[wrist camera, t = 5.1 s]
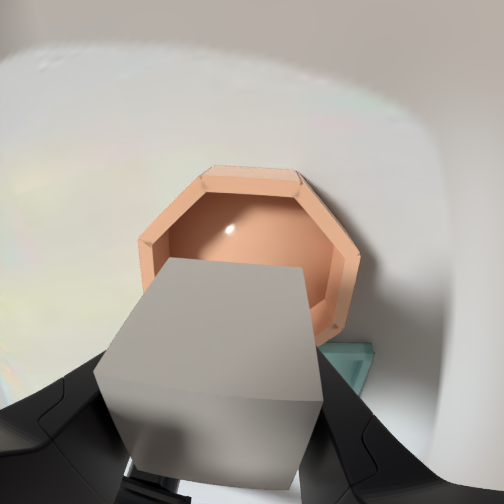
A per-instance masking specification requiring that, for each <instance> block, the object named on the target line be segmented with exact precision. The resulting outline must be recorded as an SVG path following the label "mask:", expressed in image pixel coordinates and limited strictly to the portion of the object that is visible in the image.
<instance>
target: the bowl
mask: <svg viewBox="0 0 504 504" xmlns="http://www.w3.org/2000/svg"><path fill="white" fill-rule="evenodd" d="M138 248H139V258H140V268H141V277H142V285H143V293H145V291H146V290H147V288H148V287H149V285H150V284H151V283H152V281H153V280H154V278H155V277H156V275H157V274H158V273H159V271H160V270H161V268H162V267H163V265H164V264H165V263H166V261H167V260H168V258H169V257H173V258H185V259H197V260H210V261H222V262H235V263H248V264H261V265H274V266H288V267H302V269H303V275H304V280H305V286H306V291H307V297H308V303H309V309H310V315H311V321H312V327H313V333H314V340H315V345H316V346H317V347H319V346H320V345H322V344H323V343H325V342H327V341H328V340H330V339H331V338H333V337H334V336H336V335H337V334H339V333H340V332H342V329H344V327H345V324H346V320H347V316H348V312H349V308H350V303H351V299H352V295H353V290H354V286H355V282H356V277H357V272H358V267H359V263H360V258H361V256H360V254H359V253H360V252H359V250H358V249H357V247H356V245H355V244H354V242H353V241H352V239H351V238H350V236H349V234H348V233H347V231H346V230H345V229H344V227H343V226H342V225H341V223H340V222H339V221H338V220H337V218H336V217H335V216H334V215H333V213H332V212H331V211H330V210H329V208H328V207H327V206H326V205H325V203H324V202H323V201H322V200H321V199H320V197H319V196H318V195H317V194H316V192H315V191H314V190H313V189H312V188H311V186H310V185H309V184H308V183H307V182H306V181H305V179H304V178H303V177H302V176H301V175H300V173H299V172H298V173H296V171H295V170H283V169H270V168H255V167H236V166H214V167H211V168H209V169H208V170H207V171H205V172H204V173H202V174H201V175H200V176H198V177H197V178H196V179H195V180H194V181H193V182H192V183H191V184H190V185H189V186H188V187H187V188H186V189H185V190H184V191H183V192H182V193H181V194H180V195H179V196H178V197H177V198H176V199H175V200H174V201H173V202H172V203H171V204H170V205H169V206H168V207H167V208H166V209H165V210H164V211H163V212H162V213H161V214H160V215H159V216H158V217H157V218H156V219H155V220H154V221H153V222H152V223H151V225H150V226H149V227H148V228H147V229H146V230H145V231H144V232H143V233H142V234H141V235H140V236H139V239H138Z"/></svg>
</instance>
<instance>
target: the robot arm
mask: <svg viewBox="0 0 504 504" xmlns="http://www.w3.org/2000/svg"><path fill="white" fill-rule="evenodd" d="M315 346H316V345H315ZM105 352H106V350H105V351H104V352H102V353H100V354H99V355H97V356H96V357H94V358H92V359H91V360H89V361H88V362H86V363H84V364H83V365H81V366H80V367H78V368H76V369H75V370H73V371H71V372H70V373H68V374H67V375H65V376H64V378H63V377H62V378H60V379H58V380H57V381H55V382H54V383H52V384H50V385H48V386H47V387H45V388H43V389H42V390H40V391H38V392H36V393H34V394H32V395H30V396H28V397H26V398H24V399H22V400H20V401H18V402H16V403H14V404H12V405H9V406H7V407H5V408H3V409H1V410H0V504H191V497H189V496H183V495H179V494H177V491H178V487H179V483H180V479H176V478H171V477H166V476H161V475H157V474H153V473H148V472H144V471H140V470H137V468H136V466H135V464H134V462H133V460H132V462H131V465H130V468H129V471H128V474H127V477H126V476H124V472H125V469H126V466H127V463H128V461H129V458H130V455H129V453H128V451H127V449H126V447H125V445H124V443H123V441H122V439H121V437H120V434H119V432H118V430H117V428H116V426H115V424H114V422H113V419H112V417H111V415H110V412H109V410H108V408H107V405H106V403H105V401H104V398H103V396H102V393H101V391H100V388H99V386H98V383H97V380H96V378H95V375H94V372H93V371H94V369H95V368H96V366H97V365H98V363H99V361H100V360H101V358H102V357H103V355H104V353H105ZM316 353H317V359H318V366H319V373H320V380H321V387H322V394H323V404H322V407H321V410H320V412H319V415H318V418H317V421H316V424H315V426H314V429H313V432H312V435H311V437H310V440H309V442H308V445H307V448H306V450H305V453H304V455H303V458H302V460H301V463H300V465H299V478H300V488H301V498H302V504H504V491H498V490H490V489H482V488H475V487H469V486H463V485H457V484H453V483H450V482H447V481H446V480H444V479H442V478H440V477H439V476H437V475H436V474H435V473H433V472H432V471H431V470H430V469H429V468H428V467H427V466H425V465H424V464H423V463H422V462H421V461H420V460H419V459H418V458H417V457H415V456H414V455H413V454H412V453H411V452H410V451H409V450H408V449H407V448H405V447H404V446H403V445H402V444H401V443H400V442H399V441H398V440H397V439H396V438H395V437H394V436H393V435H392V434H391V433H390V432H389V431H388V429H387V428H386V427H385V426H384V425H383V424H382V423H381V422H380V421H379V419H378V418H377V417H376V416H375V415H373V412H372V411H371V410H370V409H369V408H368V407H367V405H366V404H365V403H364V402H363V401H362V399H361V398H360V397H359V396H358V395H357V393H356V392H355V391H354V390H353V389H352V388H351V386H350V385H349V384H348V383H347V382H346V380H345V379H344V378H343V377H342V376H341V374H340V373H339V372H338V371H337V370H336V369H335V367H334V366H333V365H332V364H331V363H330V361H329V360H328V359H327V358H326V357H325V355H324V354H323V353H322V352H321V351H320V349H319V348H318V347H317V346H316ZM118 489H119V490H118Z"/></svg>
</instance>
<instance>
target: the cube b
mask: <svg viewBox="0 0 504 504" xmlns="http://www.w3.org/2000/svg"><path fill="white" fill-rule="evenodd" d="M93 372H94V375H95V378H96V380H97V383H98V386H99V388H100V391H101V393H102V396H103V398H104V401H105V403H106V405H107V408H108V410H109V412H110V415H111V417H112V419H113V422H114V424H115V426H116V428H117V430H118V432H119V434H120V437H121V439H122V441H123V443H124V445H125V447H126V449H127V451H128V453H129V455H130V456H131V458H132V460H133V462H134V464H135V466H136V468H137V470H140V471H144V472H148V473H153V474H157V475H161V476H166V477H171V478H176V479H181V480H187V481H192V482H198V483H205V484H212V485H220V486H229V487H239V488H252V489H271V490H289V489H290V486H291V484H292V482H293V479H294V477H295V475H296V472H297V470H298V468H299V465H300V463H301V460H302V458H303V455H304V453H305V450H306V448H307V445H308V442H309V440H310V437H311V435H312V432H313V429H314V426H315V424H316V421H317V418H318V415H319V412H320V410H321V407H322V404H323V394H322V387H321V380H320V373H319V366H318V359H317V353H316V346H315V340H314V333H313V327H312V321H311V315H310V309H309V303H308V297H307V291H306V286H305V280H304V275H303V269H302V267H288V266H274V265H261V264H248V263H235V262H222V261H210V260H197V259H185V258H173V257H169V258H168V260H167V261H166V263H165V264H164V265H163V267H162V268H161V270H160V271H159V273H158V274H157V275H156V277H155V278H154V280H153V281H152V283H151V284H150V285H149V287H148V288H147V290H146V291H145V293H144V294H143V296H142V297H141V299H140V300H139V301H138V303H137V304H136V306H135V307H134V309H133V310H132V312H131V313H130V315H129V316H128V318H127V319H126V321H125V322H124V324H123V325H122V327H121V328H120V330H119V332H118V333H117V335H116V336H115V338H114V339H113V341H112V342H111V344H110V346H109V347H108V349H107V350H106V352H105V353H104V355H103V357H102V358H101V360H100V361H99V363H98V365H97V366H96V368H95V369H94V371H93Z"/></svg>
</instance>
